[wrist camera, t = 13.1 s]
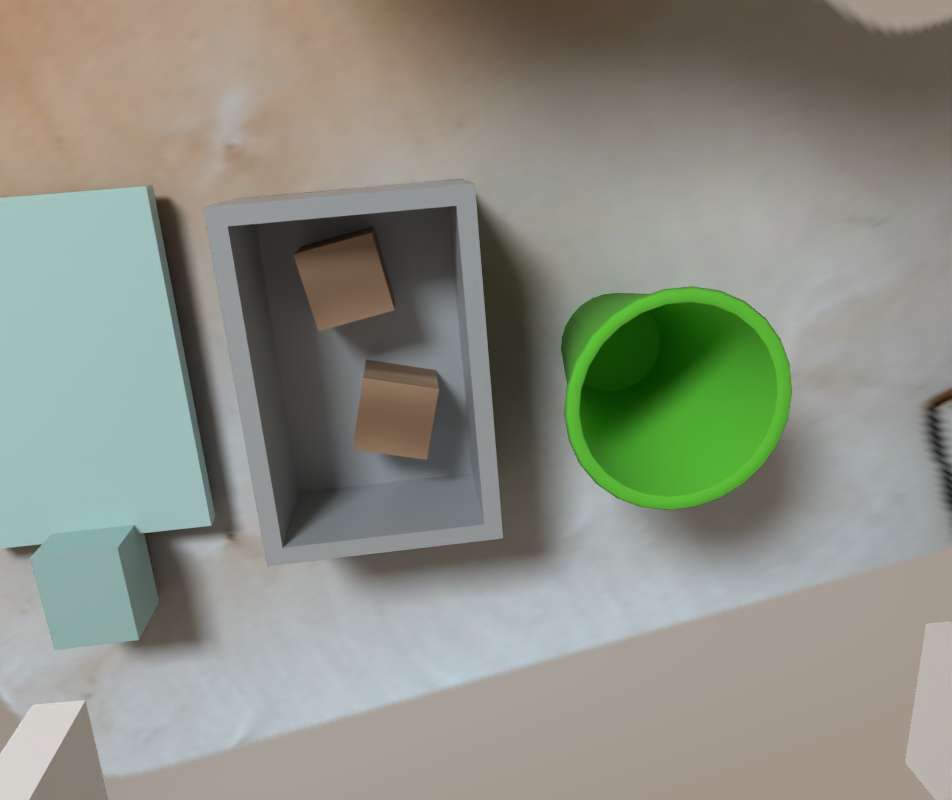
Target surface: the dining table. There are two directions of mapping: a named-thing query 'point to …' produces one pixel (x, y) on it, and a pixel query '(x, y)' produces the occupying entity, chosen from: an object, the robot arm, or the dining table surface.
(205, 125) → the dining table surface
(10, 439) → the lid
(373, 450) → the block
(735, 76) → the dining table surface
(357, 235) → the block
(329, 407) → the tub
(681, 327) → the cup
